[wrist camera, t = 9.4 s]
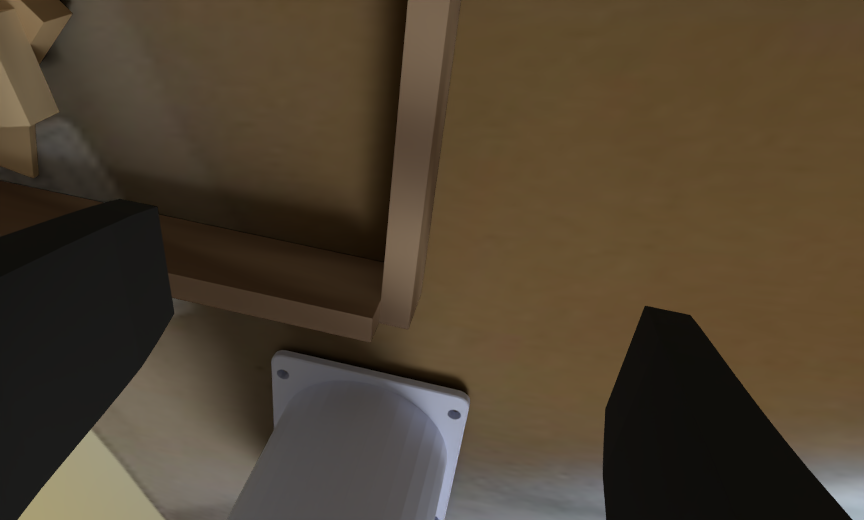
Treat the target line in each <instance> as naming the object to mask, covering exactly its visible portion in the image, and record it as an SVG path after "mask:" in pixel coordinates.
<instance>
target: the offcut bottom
mask: <svg viewBox="0 0 864 520" xmlns="http://www.w3.org/2000/svg"><path fill="white" fill-rule="evenodd" d="M0 166H1V167H4V168H7V169H9V170H12V171H15V172H17V173H20V174H23V175H25V176H28V177H31V178H35V177H37V176H38V175H39V170H38V157H37V145H36V132H35V124H34V125H32V126H21V127H0Z"/></svg>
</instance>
